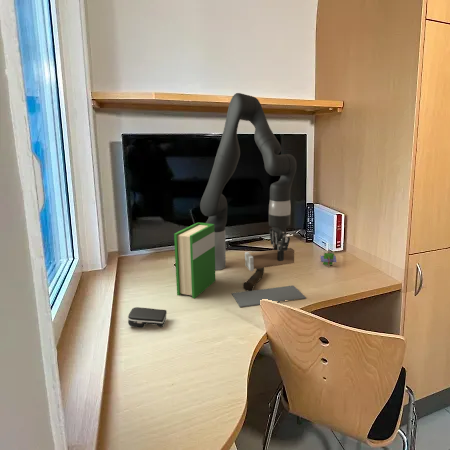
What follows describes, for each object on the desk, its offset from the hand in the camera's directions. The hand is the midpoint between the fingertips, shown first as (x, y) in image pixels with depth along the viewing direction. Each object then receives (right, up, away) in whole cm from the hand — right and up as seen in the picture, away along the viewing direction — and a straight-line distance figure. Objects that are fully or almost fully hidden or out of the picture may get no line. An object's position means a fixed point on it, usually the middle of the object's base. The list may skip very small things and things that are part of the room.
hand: (278, 258), depth 132 cm
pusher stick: (-2, -2, 0) cm, 3 cm away
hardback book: (-30, -13, +11) cm, 35 cm away
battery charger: (-38, -18, -16) cm, 45 cm away
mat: (-3, -14, +3) cm, 15 cm away
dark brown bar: (-7, -11, +16) cm, 21 cm away
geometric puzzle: (+27, -6, +32) cm, 43 cm away
